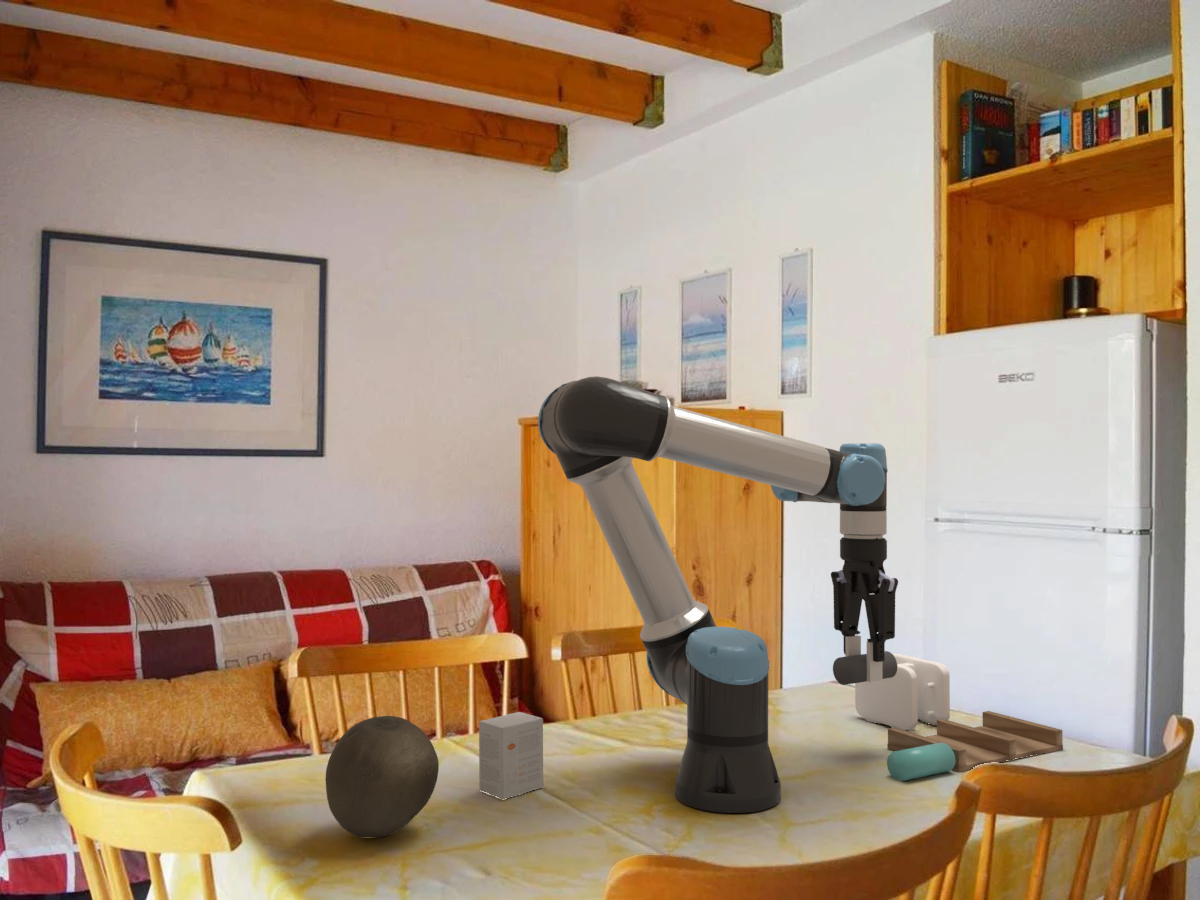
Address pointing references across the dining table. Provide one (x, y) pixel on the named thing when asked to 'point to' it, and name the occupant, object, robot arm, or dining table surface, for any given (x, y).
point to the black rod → (861, 668)
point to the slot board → (993, 756)
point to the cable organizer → (906, 695)
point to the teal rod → (921, 761)
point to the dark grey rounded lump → (380, 776)
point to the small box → (511, 754)
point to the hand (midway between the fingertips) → (863, 677)
